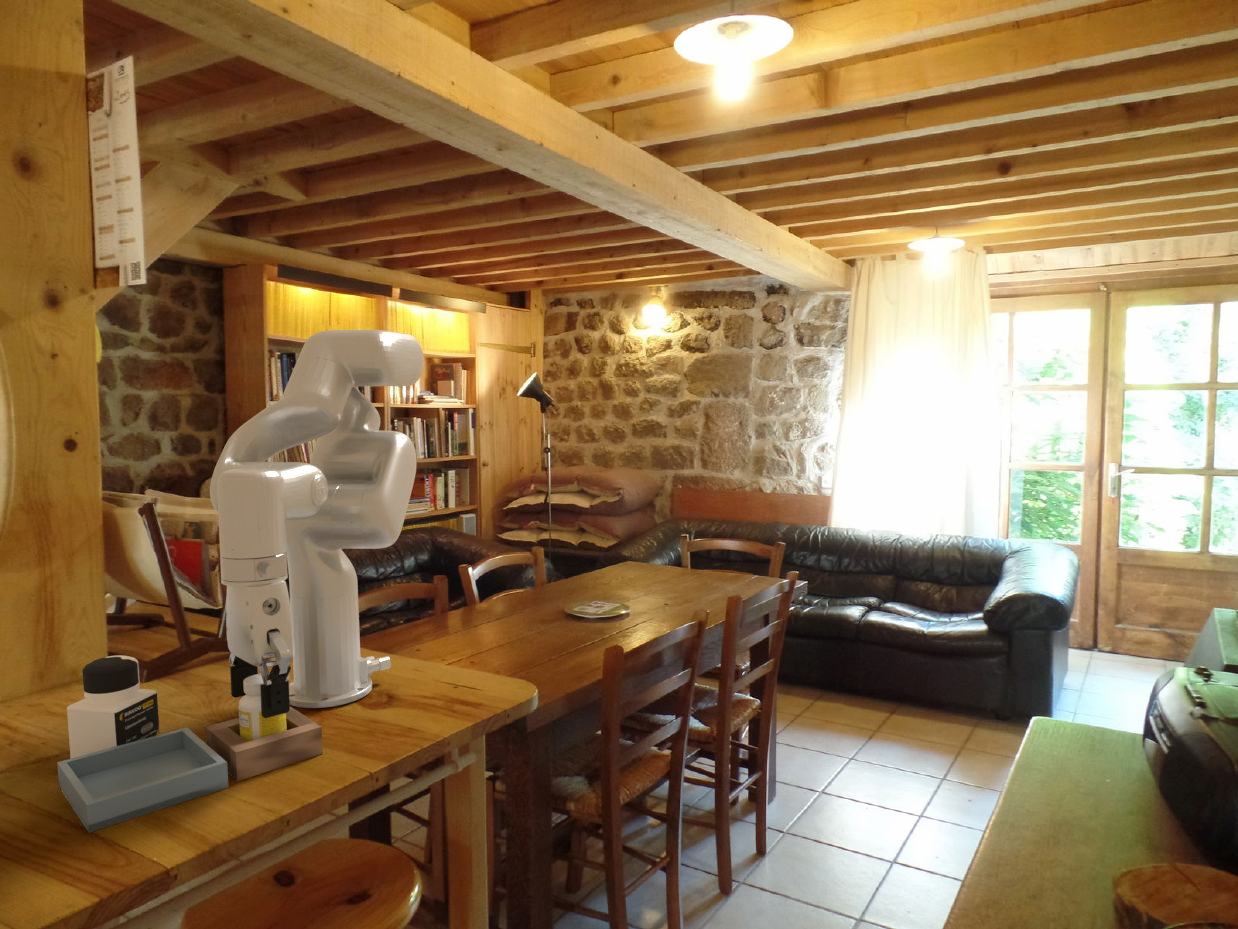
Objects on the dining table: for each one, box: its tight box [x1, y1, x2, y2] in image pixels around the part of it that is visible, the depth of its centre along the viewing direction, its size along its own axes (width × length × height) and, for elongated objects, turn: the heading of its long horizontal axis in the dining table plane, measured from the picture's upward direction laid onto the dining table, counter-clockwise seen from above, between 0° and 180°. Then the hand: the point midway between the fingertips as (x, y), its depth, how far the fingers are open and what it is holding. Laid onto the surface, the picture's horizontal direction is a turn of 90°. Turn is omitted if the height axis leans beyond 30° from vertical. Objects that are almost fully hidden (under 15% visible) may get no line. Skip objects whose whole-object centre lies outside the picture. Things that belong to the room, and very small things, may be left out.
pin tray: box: [56, 726, 229, 834], centre depth 98 cm, size 14×14×3 cm
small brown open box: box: [204, 706, 324, 782], centre depth 106 cm, size 10×10×4 cm
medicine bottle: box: [66, 654, 161, 759], centre depth 107 cm, size 7×7×12 cm
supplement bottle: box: [238, 672, 287, 742], centre depth 106 cm, size 5×5×10 cm
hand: (259, 704), depth 105 cm, fingers open, 9 cm apart
